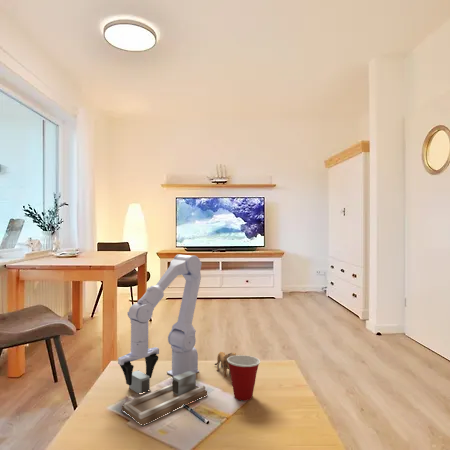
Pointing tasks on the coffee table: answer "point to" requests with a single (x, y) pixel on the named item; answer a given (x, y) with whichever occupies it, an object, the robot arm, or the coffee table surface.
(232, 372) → the plastic cup
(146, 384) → the gripped grey block
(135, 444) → the coffee table surface
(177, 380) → the raised edge track
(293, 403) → the coffee table surface
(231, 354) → the lion figurine
